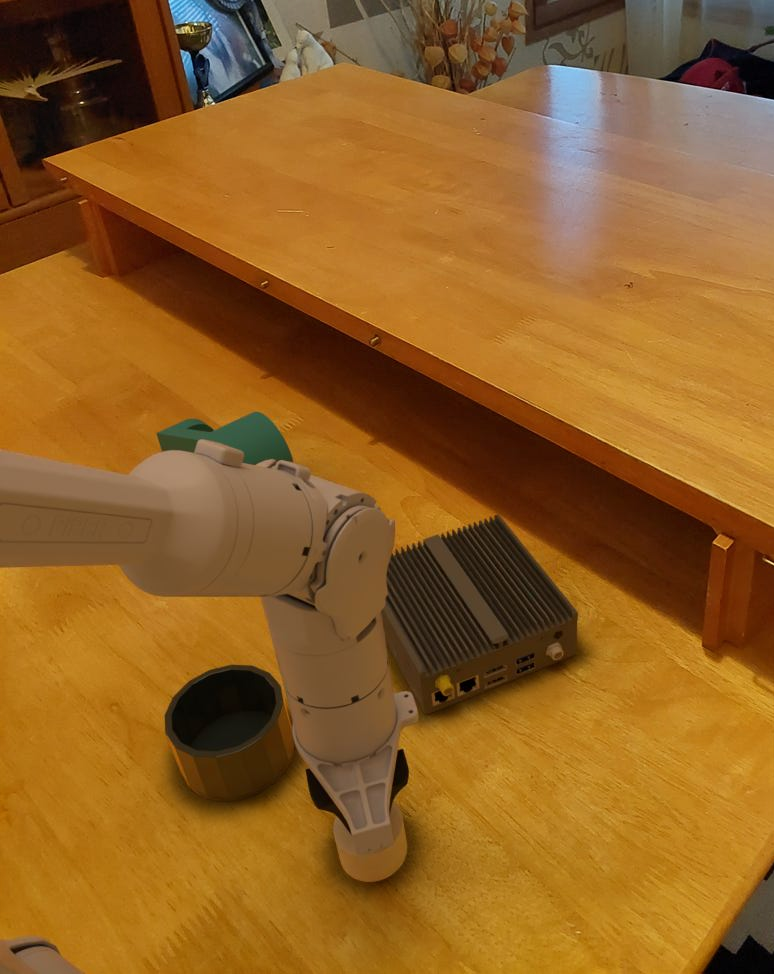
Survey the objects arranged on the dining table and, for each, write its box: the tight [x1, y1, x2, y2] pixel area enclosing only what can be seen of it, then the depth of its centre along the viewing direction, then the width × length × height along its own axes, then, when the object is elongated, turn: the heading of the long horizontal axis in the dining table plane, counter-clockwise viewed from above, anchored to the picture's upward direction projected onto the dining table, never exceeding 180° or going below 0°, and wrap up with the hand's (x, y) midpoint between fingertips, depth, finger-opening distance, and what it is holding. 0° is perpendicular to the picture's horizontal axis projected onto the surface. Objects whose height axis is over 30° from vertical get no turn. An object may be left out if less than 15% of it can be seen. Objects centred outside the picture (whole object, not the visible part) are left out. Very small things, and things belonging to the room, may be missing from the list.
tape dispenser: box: [156, 411, 295, 465], centre depth 92 cm, size 7×15×8 cm, turn 43°
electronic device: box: [381, 513, 579, 716], centre depth 74 cm, size 13×15×5 cm
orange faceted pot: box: [164, 664, 295, 803], centre depth 65 cm, size 8×8×5 cm
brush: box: [332, 800, 408, 883], centre depth 58 cm, size 4×4×8 cm
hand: (366, 815), depth 58 cm, fingers closed on brush
